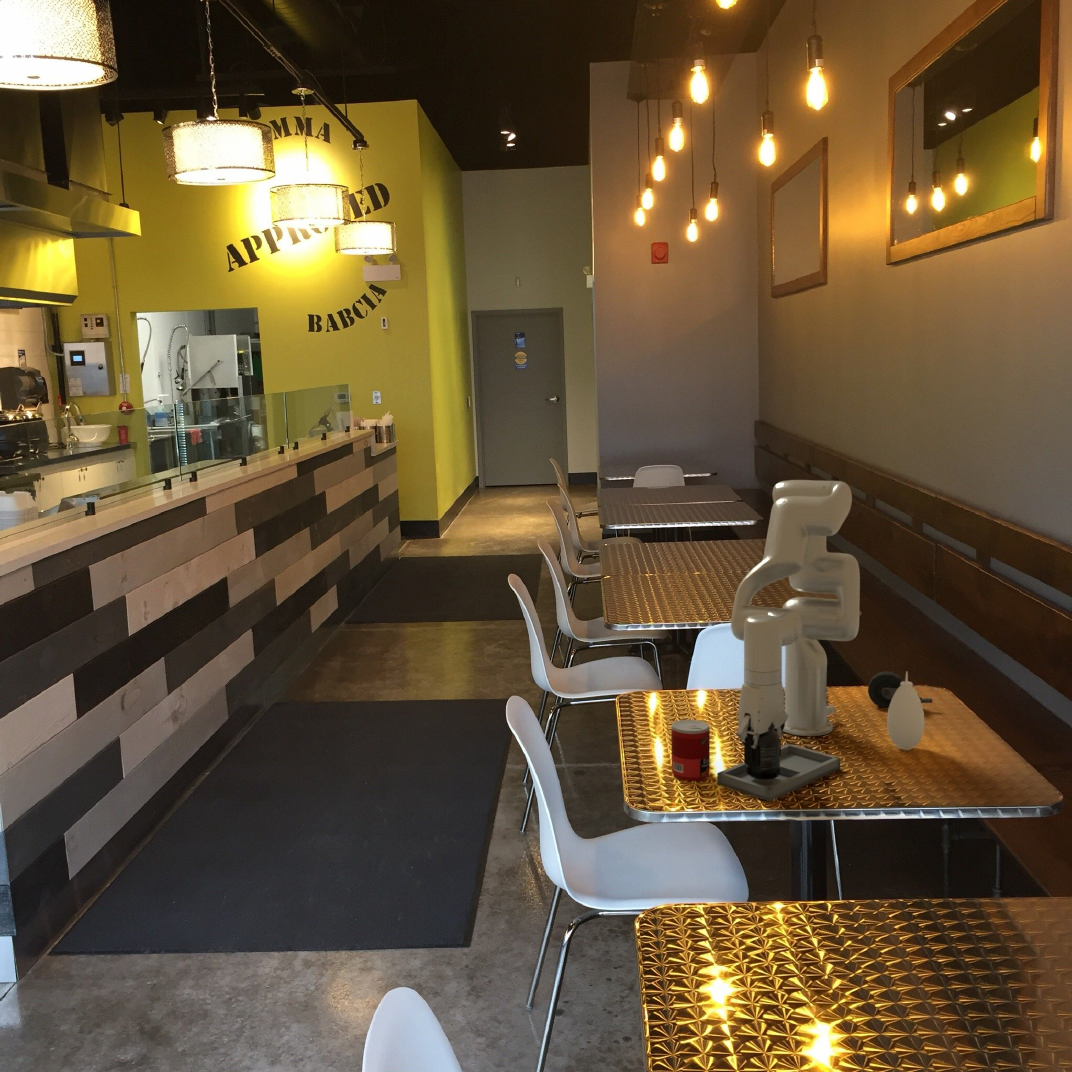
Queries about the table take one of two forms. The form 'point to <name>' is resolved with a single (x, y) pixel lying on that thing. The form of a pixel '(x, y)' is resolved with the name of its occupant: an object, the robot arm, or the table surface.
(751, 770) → the supplement bottle
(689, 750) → the canned food
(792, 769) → the caddy
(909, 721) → the white air blower bulb
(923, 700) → the caster wheel
